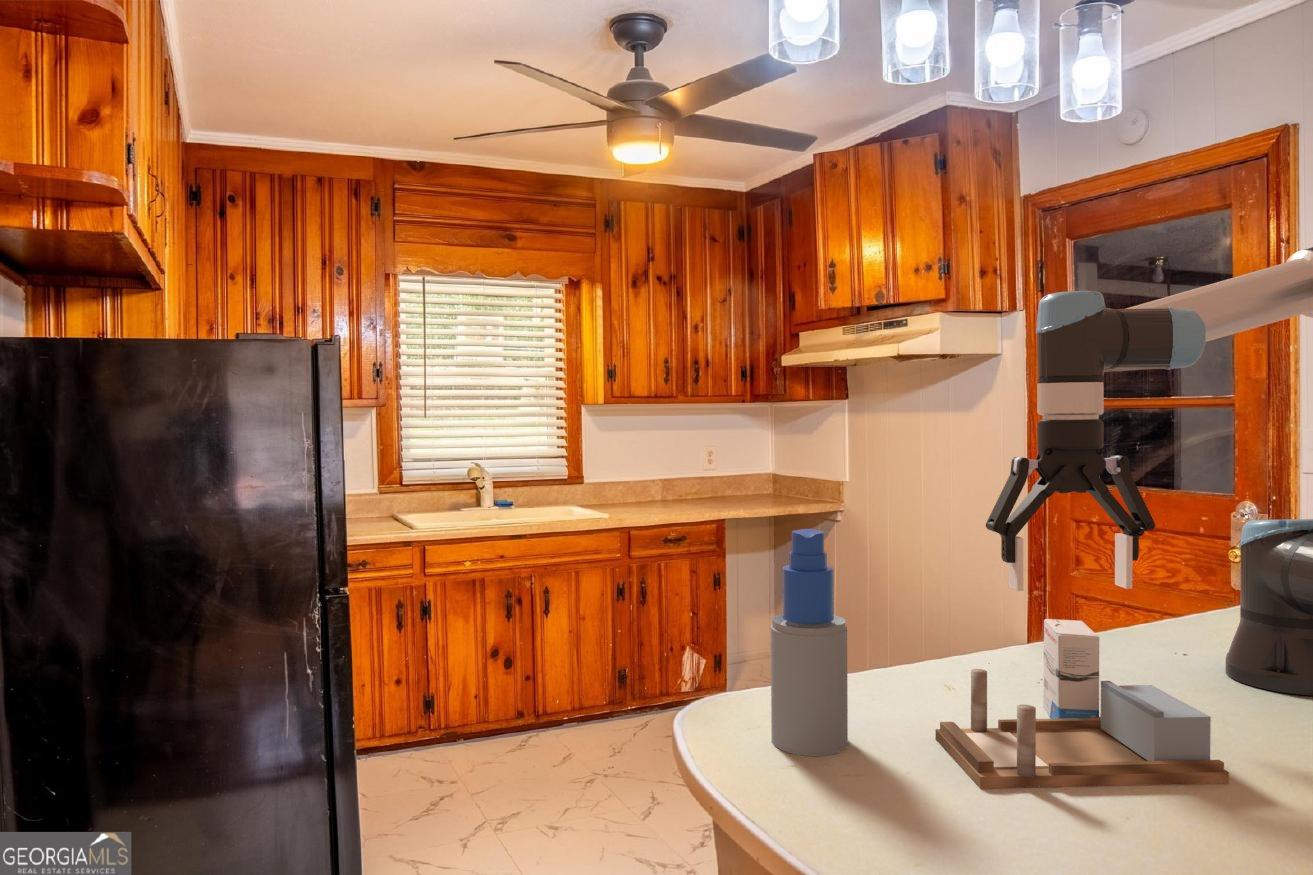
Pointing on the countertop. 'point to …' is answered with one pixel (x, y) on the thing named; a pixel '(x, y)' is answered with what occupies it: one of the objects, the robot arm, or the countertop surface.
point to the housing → (1154, 723)
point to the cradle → (1057, 752)
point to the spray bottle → (809, 656)
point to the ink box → (1070, 670)
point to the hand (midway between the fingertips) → (1069, 588)
